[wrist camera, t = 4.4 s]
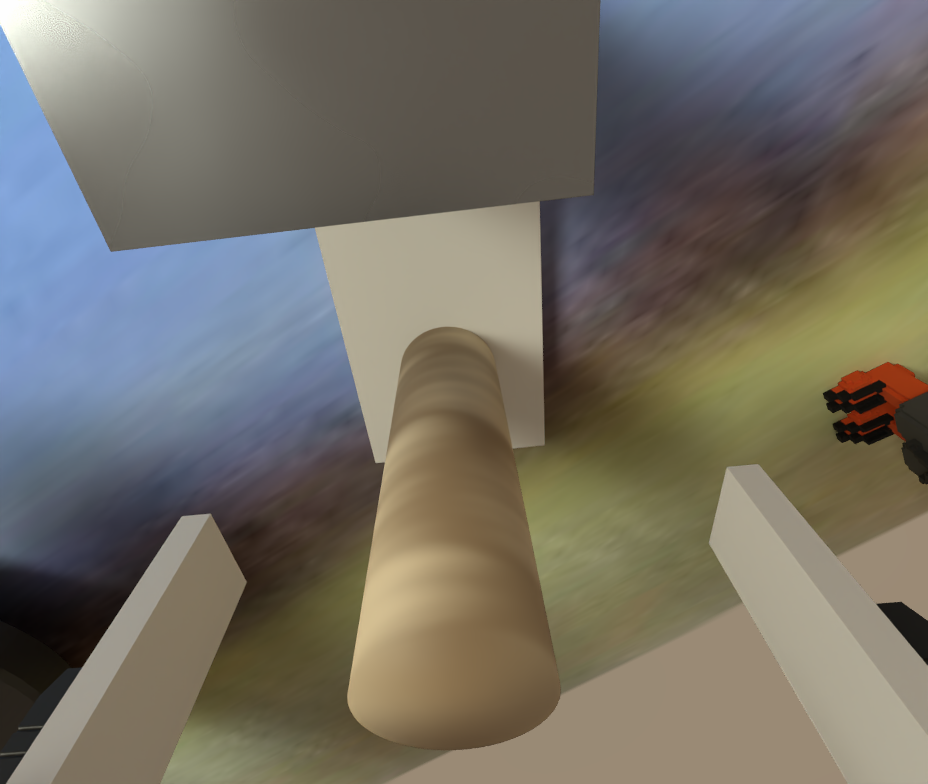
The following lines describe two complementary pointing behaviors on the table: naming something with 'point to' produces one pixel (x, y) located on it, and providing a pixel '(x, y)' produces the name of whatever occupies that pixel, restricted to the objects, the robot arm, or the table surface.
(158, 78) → the square bar
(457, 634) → the beech dowel
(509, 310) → the strip
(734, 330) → the table surface
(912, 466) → the toy animal
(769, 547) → the robot arm
